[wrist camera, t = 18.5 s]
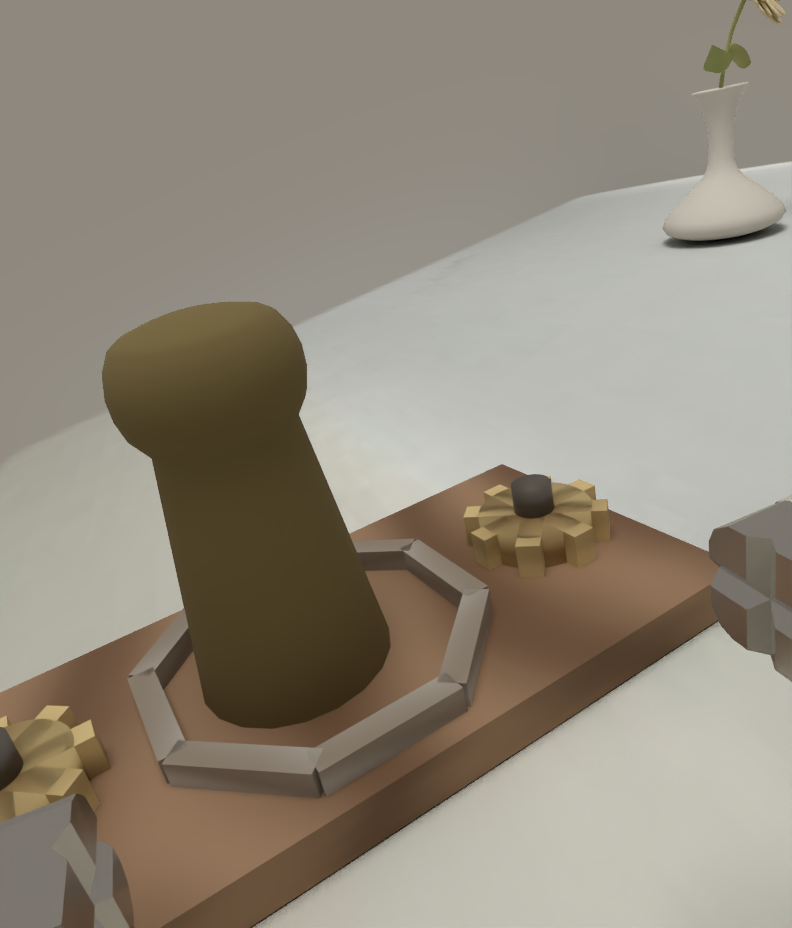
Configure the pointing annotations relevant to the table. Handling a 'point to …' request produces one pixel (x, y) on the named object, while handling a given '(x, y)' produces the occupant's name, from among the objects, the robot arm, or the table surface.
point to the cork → (248, 513)
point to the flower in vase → (725, 159)
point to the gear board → (357, 699)
